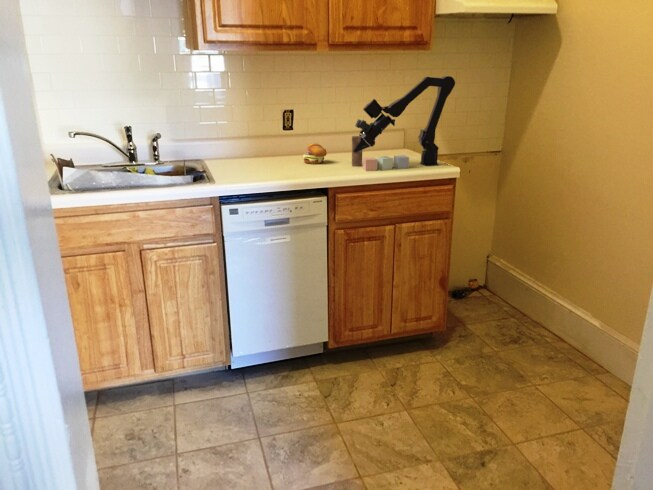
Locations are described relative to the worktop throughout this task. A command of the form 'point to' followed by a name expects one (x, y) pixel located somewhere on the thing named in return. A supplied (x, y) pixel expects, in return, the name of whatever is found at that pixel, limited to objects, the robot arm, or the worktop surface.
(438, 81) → the robot arm
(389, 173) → the worktop surface
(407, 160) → the slate cube
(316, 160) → the cheeseburger
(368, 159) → the terracotta cube
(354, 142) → the walnut block
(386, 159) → the sage cube
